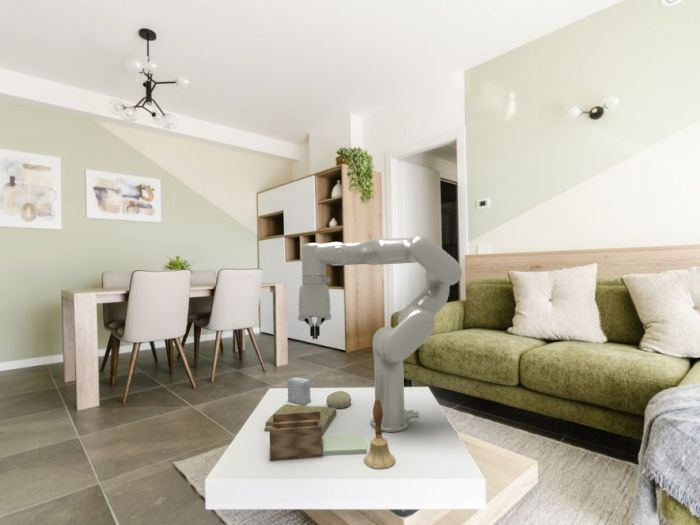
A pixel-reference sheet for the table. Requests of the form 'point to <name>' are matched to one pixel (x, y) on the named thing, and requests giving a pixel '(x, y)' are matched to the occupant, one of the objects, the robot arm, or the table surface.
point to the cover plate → (344, 444)
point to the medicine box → (299, 390)
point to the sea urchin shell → (339, 399)
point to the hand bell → (379, 444)
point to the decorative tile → (325, 412)
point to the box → (296, 436)
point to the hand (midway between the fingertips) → (315, 338)
